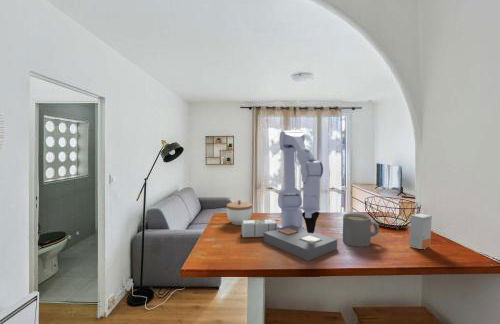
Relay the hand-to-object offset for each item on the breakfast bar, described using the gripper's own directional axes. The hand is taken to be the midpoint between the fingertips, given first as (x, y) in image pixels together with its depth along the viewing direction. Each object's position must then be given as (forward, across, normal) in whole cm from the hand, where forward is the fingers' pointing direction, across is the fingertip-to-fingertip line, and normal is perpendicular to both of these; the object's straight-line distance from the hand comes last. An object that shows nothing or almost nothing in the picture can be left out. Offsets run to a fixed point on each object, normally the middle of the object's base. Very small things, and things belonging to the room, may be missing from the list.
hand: (310, 232), depth 90 cm
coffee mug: (+6, -14, +17) cm, 23 cm away
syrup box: (+3, -4, -29) cm, 29 cm away
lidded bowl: (+7, -21, -37) cm, 43 cm away
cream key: (+6, 0, 0) cm, 6 cm away
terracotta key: (+6, -6, -9) cm, 13 cm away
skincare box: (+6, -16, +37) cm, 41 cm away
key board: (+6, -3, -5) cm, 8 cm away
